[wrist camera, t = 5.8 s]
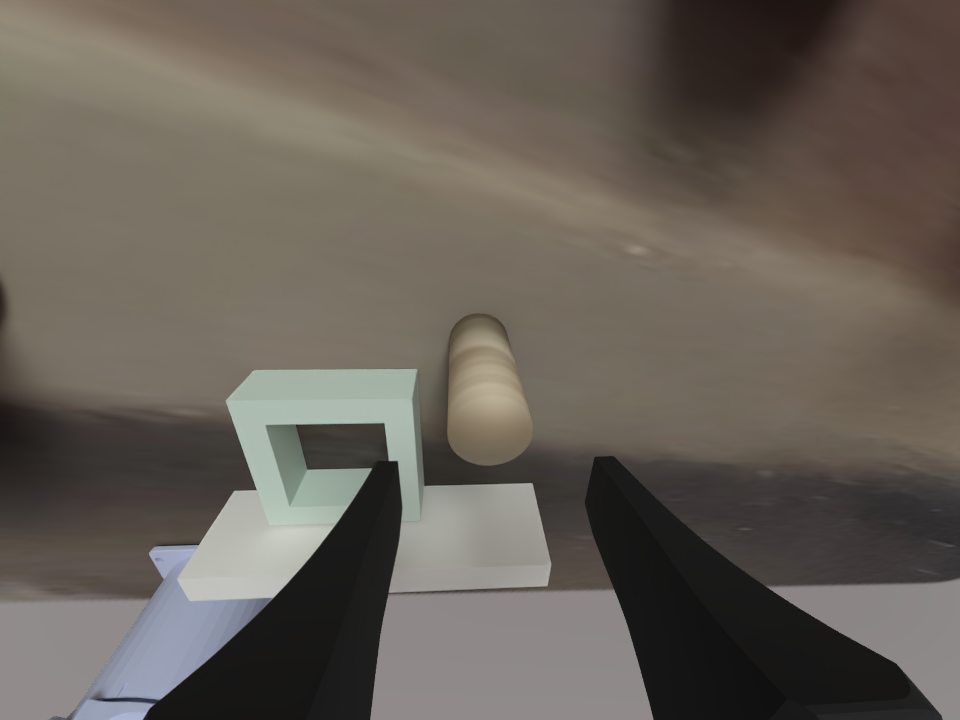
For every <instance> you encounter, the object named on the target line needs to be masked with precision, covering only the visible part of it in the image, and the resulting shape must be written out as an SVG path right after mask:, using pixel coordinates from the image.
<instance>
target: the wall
mask: <svg viewBox="0 0 960 720" xmlns="http://www.w3.org/2000/svg"><path fill="white" fill-rule="evenodd" d="M336 524H337V523H331V524H298V525H269V523H268V520H267V517H266V515H265V512H264V509H263V506H262V503H261V500H260V497H259V494H258V492H257V490H249V491H234V492H233V494H232V495H231V497H230V498H229V500H228V501H227V503H226V505H225V506H224V508H223V509H222V511H221V512H220V514H219V515H218V517H217V518H216V520H215V521H214V523H213V524H212V526H211V528H210V529H209V531H208V532H207V534H206V535H205V537H204V538H203V540H202V541H201V543H200V544H199V546H198V547H197V549H196V550H195V552H194V554H193V555H192V557H191V558H190V560H189V561H188V563H187V564H186V566H185V567H184V569H183V570H182V572H181V573H180V575H179V576H178V578H177V580H178V582H179V584H180V586H181V587H182V589H183V591H184V593H185V594H186V596H187V598H188V600H189V601H206V600H230V599H253V598H274V597H275V596H276V595H277V594H278V593H279V591H280V590H281V589H282V588H283V587H284V586H285V585H286V584H287V583H288V582H289V581H290V580H291V579H292V578H293V576H294V575H295V574H296V573H297V572H298V571H299V570H300V569H301V567H302V566H303V565H304V564H305V563H306V562H307V560H308V559H309V558H310V557H311V556H312V554H313V553H314V552H315V551H316V550H317V548H318V547H319V546H320V545H321V543H322V542H323V541H324V539H325V538H326V537H327V535H328V534H329V533H330V531H331V530H332V529H333V527H334V526H335V525H336ZM550 569H551V561H550V557H549V553H548V548H547V544H546V540H545V536H544V531H543V527H542V523H541V518H540V514H539V510H538V506H537V501H536V497H535V493H534V489H533V484H532V483H523V484H484V485H445V486H424V491H423V502H422V512H421V521H401V529H400V539H399V545H398V550H397V554H396V559H395V564H394V569H393V574H392V579H391V583H390V588H389V593H394V592H418V591H441V590H465V589H488V588H512V587H535V586H547V585H548V580H549V574H550Z"/></svg>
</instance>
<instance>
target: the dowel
mask: <svg viewBox="0 0 960 720" xmlns="http://www.w3.org/2000/svg"><path fill="white" fill-rule="evenodd" d="M447 436H448V441H449V444H450V446H451V448H452V449H453V451H454V452H455V453H456V454H457V455H458V456H459V457H461V458H462V459H464V460H466V461H468V462H470V463H473V464H478V465H498V464H502V463H505V462H508V461H510V460H512V459H514V458H516V457H517V456H519V455H520V454H521V453H522V452H523V451H524V450H525V449H526V448H527V447H528V445H529V443H530V441H531V439H532V436H533V423H532V420H531V416H530V413H529V409H528V406H527V402H526V399H525V395H524V392H523V388H522V385H521V381H520V378H519V374H518V371H517V367H516V364H515V361H514V357H513V354H512V350H511V347H510V343H509V340H508V336H507V333H506V330H505V328H504V326H503V325H502V323H501V322H500V321H499V320H497V319H496V318H494V317H492V316H490V315H487V314H471V315H468V316H466V317H464V318H462V319H461V320H460V321H458V322H457V323H456V325H455V326H454V327H453V329H452V331H451V335H450V350H449V387H448V424H447Z"/></svg>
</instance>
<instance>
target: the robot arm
mask: <svg viewBox="0 0 960 720" xmlns="http://www.w3.org/2000/svg"><path fill="white" fill-rule="evenodd" d="M585 506H586V510H587V514H588V518H589V522H590V525H591V529H592V533H593V536H594V539H595V541H596V544H597V546H598V549H599V552H600V554H601V557H602V559H603V562H604V565H605V567H606V570H607V572H608V575H609V577H610V580H611V582H612V585H613V587H614V590H615V593H616V595H617V598H618V600H619V603H620V605H621V608H622V611H623V614H624V616H625V619H626V622H627V625H628V628H629V631H630V635H631V639H632V642H633V646H634V649H635V652H636V656H637V659H638V662H639V666H640V670H641V674H642V677H643V681H644V685H645V688H646V692H647V696H648V699H649V702H650V707H651V711H652V715H653V719H654V720H942V716H941V715H940V714H939V712H938V711H937V710H936V709H935V708H934V706H933V705H932V704H931V703H930V702H929V701H928V699H927V698H926V697H925V696H924V695H923V694H922V693H921V691H920V690H919V689H918V688H917V687H916V686H915V684H914V683H913V682H912V681H911V680H910V679H909V678H908V676H907V675H906V674H905V673H904V672H903V671H902V670H901V669H900V667H899V666H898V665H897V664H896V663H894V662H892V661H890V660H889V659H887V658H885V657H883V656H881V655H879V654H878V653H876V652H874V651H872V650H870V649H868V648H867V647H865V646H863V645H861V644H859V643H858V642H856V641H854V640H852V639H850V638H848V637H847V636H845V635H843V634H841V633H839V632H838V631H836V630H834V629H832V628H831V627H829V626H827V625H826V624H824V623H822V622H821V621H819V620H817V619H815V618H814V617H812V616H811V615H809V614H808V613H806V612H804V611H803V610H801V609H799V608H798V607H796V606H794V605H793V604H791V603H790V602H788V601H787V600H785V599H784V598H782V597H780V596H779V595H777V594H776V593H774V592H773V591H772V590H770V589H769V588H767V587H766V586H764V585H763V584H761V583H760V582H758V581H757V580H755V579H754V578H752V577H751V576H750V575H748V574H747V573H745V572H744V571H743V570H741V569H740V568H738V567H737V566H736V565H734V564H733V563H732V562H730V561H729V560H728V559H726V558H725V557H724V556H723V555H721V554H720V553H719V552H717V551H716V550H715V549H713V548H712V547H711V546H710V545H708V544H707V543H706V542H705V541H703V540H702V539H701V538H700V537H699V536H697V535H696V534H695V533H694V532H693V531H692V530H690V529H689V528H688V527H687V526H686V525H685V524H683V523H682V522H681V521H680V520H679V519H678V518H677V517H676V516H674V515H673V514H672V513H671V512H670V511H669V510H668V509H667V508H666V507H665V506H664V505H663V504H661V503H660V502H659V501H658V500H657V499H656V498H655V497H654V496H653V495H652V494H651V493H650V492H649V491H648V490H647V489H646V488H645V487H644V486H643V485H642V484H641V483H640V482H639V481H638V480H637V479H636V478H635V477H634V476H633V475H632V474H631V473H630V472H629V471H628V470H627V469H626V468H625V467H624V466H623V465H622V464H621V463H620V462H619V461H618V460H617V459H616V458H615V457H614V456H605V457H595V458H594V463H593V467H592V472H591V476H590V481H589V485H588V490H587V494H586V499H585ZM402 509H403V507H402V497H401V487H400V477H399V467H398V461H378V462H376V463H375V464H374V466H373V468H372V470H371V471H370V473H369V475H368V477H367V478H366V480H365V482H364V483H363V485H362V487H361V488H360V490H359V491H358V493H357V494H356V496H355V498H354V499H353V501H352V502H351V503H350V505H349V506H348V508H347V509H346V511H345V512H344V514H343V515H342V517H341V518H340V519H339V521H338V522H337V524H336V525H335V526H334V527H333V529H332V530H331V531H330V533H329V534H328V535H327V537H326V538H325V539H324V541H323V542H322V543H321V545H320V546H319V547H318V548H317V550H316V551H315V552H314V553H313V554H312V556H311V557H310V558H309V559H308V560H307V562H306V563H305V564H304V565H303V566H302V567H301V569H300V570H299V571H298V572H297V573H296V574H295V575H294V576H293V578H292V579H291V580H290V581H289V582H288V583H287V584H286V585H285V586H284V587H283V588H282V589H281V590H280V591H279V593H278V594H277V595H276V596H275V597H274V598H253V599H230V600H206V601H189V600H188V598H187V596H186V594H185V593H184V591H183V589H182V587H181V586H180V584H179V582H178V580H177V578H178V576H179V575H180V573H181V572H182V570H183V569H184V567H185V566H186V564H187V563H188V561H189V560H190V558H191V557H192V555H193V554H194V552H195V550H196V549H197V547H198V546H199V545H185V546H158V547H154V548H153V549H152V550H151V551H150V553H149V555H150V557H151V559H152V560H153V562H154V564H155V565H156V567H157V569H158V570H159V572H160V574H161V575H162V577H163V579H164V580H163V582H162V583H161V585H160V586H159V588H158V589H157V591H156V592H155V593H154V595H153V596H152V598H151V599H150V601H149V602H148V604H147V605H146V607H145V608H144V610H143V611H142V613H141V614H140V616H139V617H138V618H137V620H136V621H135V623H134V624H133V626H132V627H131V629H130V630H129V632H128V633H127V635H126V636H125V637H124V639H123V640H122V642H121V643H120V645H119V646H118V648H117V649H116V651H115V652H114V654H113V655H112V656H111V658H110V660H109V661H108V662H107V664H106V665H105V667H104V668H103V670H102V671H101V673H100V674H99V676H98V677H97V679H96V680H95V681H94V683H93V684H92V686H91V687H90V689H89V690H88V692H87V693H86V695H85V696H84V698H83V699H82V700H81V702H80V703H79V705H78V706H77V708H76V709H75V710H74V711H73V712H72V713H71V714H70V715H69V716H68V717H67V718H66V719H65V718H62V717H57V716H54V717H52V718H50V719H49V720H370V716H371V707H372V699H373V690H374V681H375V673H376V664H377V657H378V648H379V641H380V633H381V628H382V621H383V616H384V611H385V607H386V602H387V598H388V593H389V588H390V583H391V579H392V574H393V569H394V564H395V559H396V554H397V550H398V545H399V539H400V529H401V519H402Z"/></svg>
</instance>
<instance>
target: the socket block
mask: <svg viewBox="0 0 960 720" xmlns="http://www.w3.org/2000/svg"><path fill="white" fill-rule="evenodd" d="M226 403H227V406H228V409H229V411H230V414H231V417H232V420H233V423H234V426H235V429H236V431H237V434H238V437H239V440H240V443H241V446H242V449H243V451H244V454H245V457H246V460H247V463H248V466H249V469H250V472H251V474H252V477H253V480H254V483H255V486H256V489H257V492H258V494H259V497H260V500H261V503H262V506H263V509H264V512H265V515H266V517H267V520H268V523H269V525H298V524H331V523H337V522H338V521H339V519H340V518H341V517H342V515H343V514H344V512H345V511H346V509H347V508H348V506H349V505H350V503H351V502H352V501H353V499H354V498H355V496H356V494H357V493H358V491H359V490H360V488H361V487H362V485H363V483H364V482H365V480H366V478H367V477H368V475H369V473H370V471H371V470H372V468H365V469H320V470H307V467H306V463H305V459H304V455H303V451H302V447H301V443H300V439H299V435H298V431H297V427H296V424H356V423H385V431H386V440H387V448H388V457H389V461H398V467H399V477H400V487H401V497H402V507H403V509H402V519H401V521H421V512H422V502H423V491H424V472H423V456H422V439H421V422H420V406H419V389H418V373H417V369H345V370H254V371H253V372H252V373H251V374H250V375H249V376H248V377H247V378H246V379H245V380H244V382H243V383H242V384H241V385H240V386H239V387H238V388H237V389H236V390H235V391H234V392H233V393H232V395H231V396H230V397H229V398H228V399H227V400H226Z"/></svg>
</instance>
